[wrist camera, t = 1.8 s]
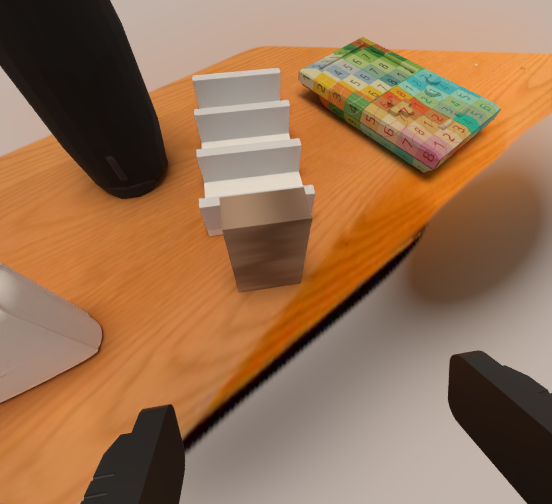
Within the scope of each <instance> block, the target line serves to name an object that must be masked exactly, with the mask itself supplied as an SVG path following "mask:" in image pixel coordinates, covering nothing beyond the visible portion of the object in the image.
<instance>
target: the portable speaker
mask: <svg viewBox="0 0 552 504" xmlns="http://www.w3.org/2000/svg"><path fill="white" fill-rule="evenodd" d="M0 66H1V67H2V69H3V70H4V71H5V73H6V74H7V75H8V76H9V78H10V79H11V80H12V82H13V83H14V84H15V85H16V87H17V88H18V89H19V91H20V92H21V93H22V95H23V96H24V97H25V98H26V100H27V101H28V103H29V104H30V105H31V106H32V108H33V109H34V110H35V112H36V113H37V114H38V116H39V117H40V118H41V119H42V121H43V122H44V123H45V125H46V126H47V127H48V129H49V130H50V131H51V133H52V134H53V135H54V136H55V138H56V139H57V140H58V142H59V143H60V144H61V146H62V147H63V148H64V149H65V150H66V152H67V153H68V154H69V155H70V156H71V157H72V158H73V159H74V160H75V161H76V162H77V163H78V164H79V166H80V167H81V168H82V169H83V170H84V171H85V172H86V173H87V174H88V175H89V176H90V177H91V179H92V180H93V181H94V182H95V183H96V184H97V185H98V186H100V187H102V188H103V189H106V190H108V191H109V192H110V193H112V194H113V195H115V196H117V197H119V198H122V199H124V198H131V197H138V196H141V195H143V194H146V193H148V192H150V191H152V190H153V187H154V183H155V181H156V180H157V179H158V178H159V177H160V176H161V174H162V173H163V172H164V169H165V167H166V164H167V163H168V161H167V158H166V153H165V148H164V143H163V139H162V134H161V130H160V126H159V121H158V117H157V115H156V112H155V110H154V107H153V104H152V102H151V99H150V96H149V94H148V91H147V89H146V86H145V83H144V81H143V78H142V76H141V73H140V70H139V68H138V65H137V62H136V60H135V57H134V55H133V52H132V49H131V47H130V44H129V42H128V39H127V36H126V34H125V31H124V28H123V26H122V23H121V21H120V19H119V17H118V15H117V13H116V11H115V9H114V7H113V6H112V3H111V1H110V0H0Z"/></svg>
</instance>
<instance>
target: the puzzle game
mask: <svg viewBox="0 0 552 504" xmlns="http://www.w3.org/2000/svg"><path fill="white" fill-rule="evenodd" d="M299 81H300V82H301V83H302V85H304V86H305V87H307V88H308V89H310V90H311V91H313V92H315V93H316V94H318V95H319V97H320V101H321V103H322V104H323V105H324V107H325V108H327V109H328V110H330V111H331V112H333V113H334V114H336V115H337V116H339V117H340V118H342V119H343V120H345V121H346V122H348V123H349V124H351V125H352V126H354V127H355V128H357V129H358V130H360V131H361V132H363V133H364V134H366V135H367V136H369V137H370V138H372V139H373V140H375V141H376V142H378V143H379V144H381V145H382V146H384V147H385V148H387V149H388V150H390V151H391V152H393V153H394V154H396V155H397V156H399V157H400V158H402V159H403V160H405V161H406V162H408V163H409V164H411V165H412V166H414V167H415V168H417V169H418V170H420V171H421V172H423V173H424V172H427V171H431V170H435V169H436V168H437V167H438V166H440V165H441V164H442V163H443V162H444V161H445V160H447V159H448V158H449V157H450V156H451V155H453V154H454V153H455V152H456V151H457V150H458V149H460V148H461V147H462V146H463V145H464V144H465V143H467V142H468V141H469V140H470V139H471V138H472V137H474V136H475V135H476V134H477V133H478V132H479V131H481V130H482V129H483V128H484V127H485V126H487V125H488V124H489V123H490V122H491V121H492V120H494V118H495V117H496V116H497V114H498V113H499V111H500V110H501V109H500V108H499V107H498V106H497V105H496V104H495V103H493V102H491V101H489V100H487V99H485V98H483V97H481V96H479V95H477V94H475V93H473V92H471V91H469V90H467V89H465V88H463V87H461V86H459V85H457V84H455V83H453V82H451V81H449V80H447V79H445V78H443V77H441V76H439V75H437V74H435V73H433V72H431V71H429V70H427V69H425V68H423V67H421V66H419V65H417V64H415V63H413V62H411V61H409V60H407V59H405V58H403V57H401V56H399V55H397V54H395V53H393V52H391V51H389V50H387V49H385V48H383V47H381V46H379V45H377V44H375V43H373V42H371V41H369V40H367V39H365V38H363V37H362V38H360V39H358V40H356V41H354V42H352V43H351V44H349V45H347V46H345V47H343V48H341V49H339V50H338V51H336V52H334V53H332V54H330V55H328V56H326V57H324V58H323V59H321V60H319V61H317V62H315V63H313V64H311V65H310V66H308V67H306V68H304V69H302V70H300V71H299Z"/></svg>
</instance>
